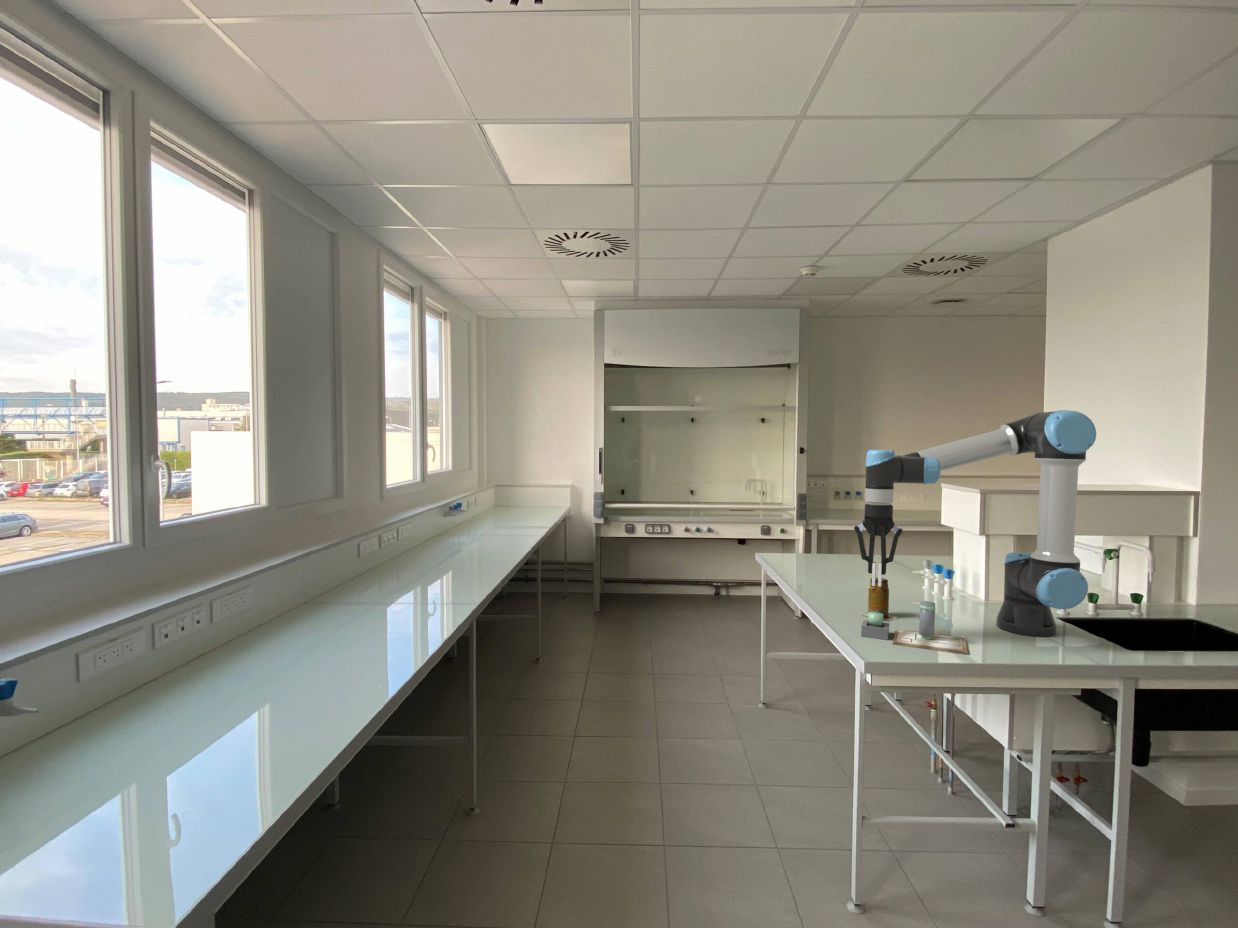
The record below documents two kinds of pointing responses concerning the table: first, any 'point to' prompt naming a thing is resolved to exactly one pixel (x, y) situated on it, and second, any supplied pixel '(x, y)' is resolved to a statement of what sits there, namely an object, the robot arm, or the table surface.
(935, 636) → the framed board
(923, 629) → the marker
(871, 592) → the condiment
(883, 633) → the button box
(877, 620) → the button
